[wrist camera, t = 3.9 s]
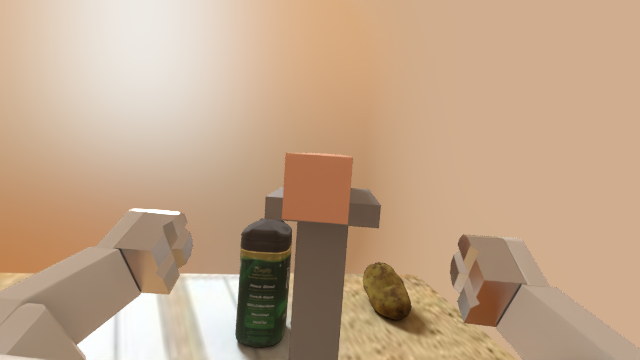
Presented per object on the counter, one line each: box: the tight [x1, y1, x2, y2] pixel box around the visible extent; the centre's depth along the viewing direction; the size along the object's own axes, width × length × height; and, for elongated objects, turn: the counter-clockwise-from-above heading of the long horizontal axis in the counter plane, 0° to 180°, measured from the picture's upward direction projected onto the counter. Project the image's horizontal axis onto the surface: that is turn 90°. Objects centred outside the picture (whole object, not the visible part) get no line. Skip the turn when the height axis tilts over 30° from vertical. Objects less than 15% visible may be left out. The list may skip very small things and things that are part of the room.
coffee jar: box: [236, 218, 292, 347], centre depth 52 cm, size 10×8×19 cm
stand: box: [265, 186, 381, 360], centre depth 35 cm, size 12×10×26 cm
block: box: [282, 153, 353, 224], centre depth 30 cm, size 22×4×4 cm, turn 176°
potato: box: [363, 262, 412, 320], centre depth 64 cm, size 8×13×8 cm, turn 179°
